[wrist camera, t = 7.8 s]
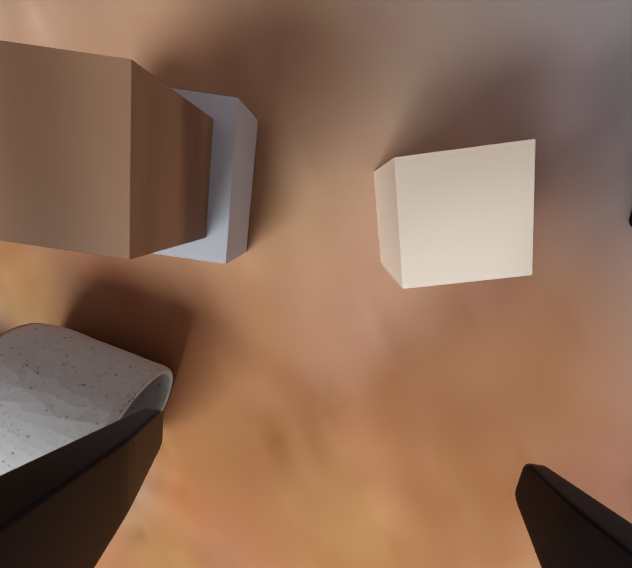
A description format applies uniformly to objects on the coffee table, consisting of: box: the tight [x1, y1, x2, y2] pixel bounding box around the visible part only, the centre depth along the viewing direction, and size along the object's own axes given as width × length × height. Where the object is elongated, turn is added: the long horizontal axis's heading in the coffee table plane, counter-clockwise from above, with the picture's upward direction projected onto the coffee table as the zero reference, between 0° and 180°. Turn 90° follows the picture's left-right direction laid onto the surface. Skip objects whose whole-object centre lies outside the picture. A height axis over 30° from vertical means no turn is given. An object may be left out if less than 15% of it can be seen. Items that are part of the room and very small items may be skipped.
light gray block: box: [153, 88, 258, 264], centre depth 17 cm, size 7×7×4 cm
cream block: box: [374, 139, 535, 289], centre depth 16 cm, size 5×5×6 cm
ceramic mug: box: [0, 323, 173, 475], centre depth 18 cm, size 11×8×8 cm
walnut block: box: [0, 41, 213, 259], centre depth 12 cm, size 5×5×6 cm
